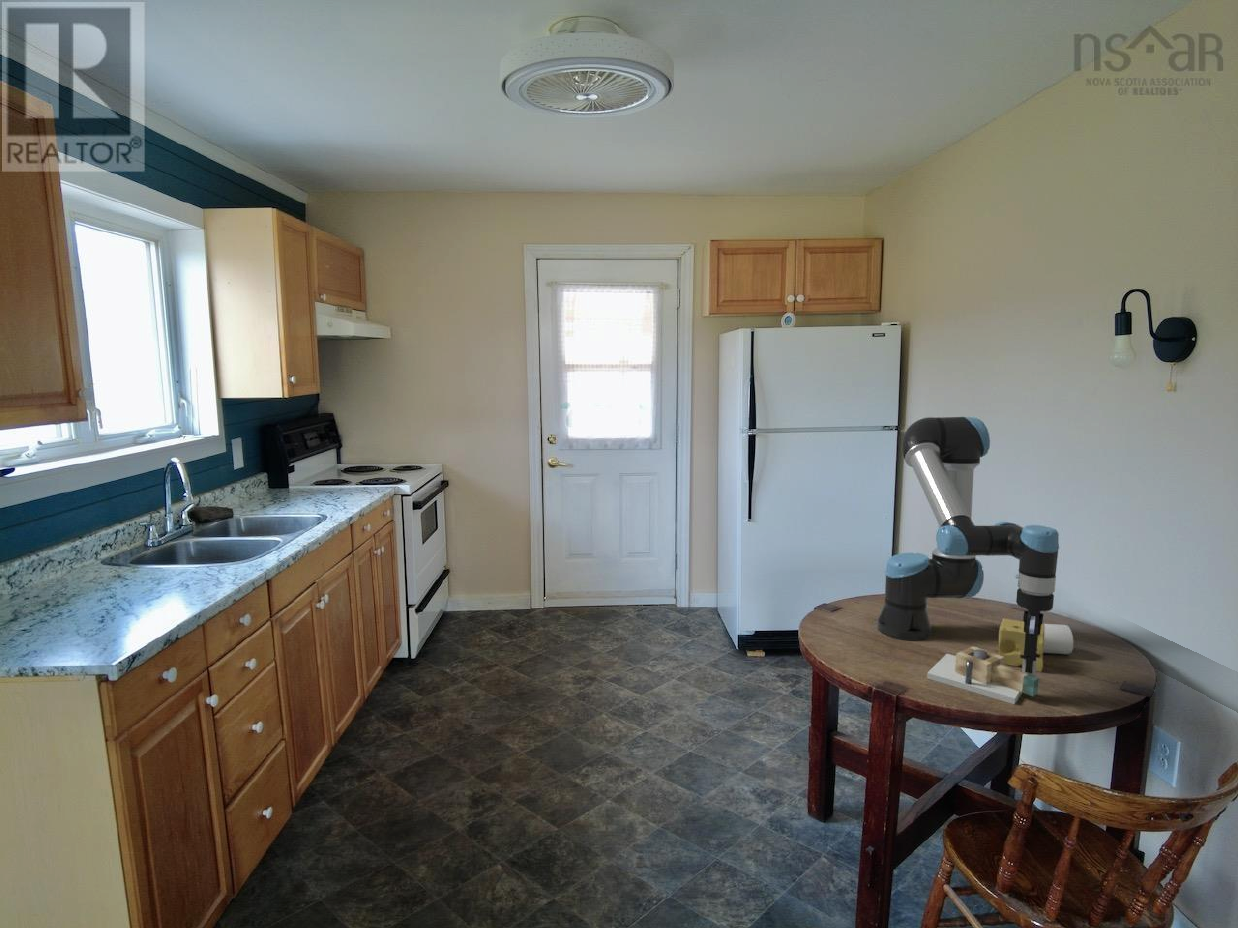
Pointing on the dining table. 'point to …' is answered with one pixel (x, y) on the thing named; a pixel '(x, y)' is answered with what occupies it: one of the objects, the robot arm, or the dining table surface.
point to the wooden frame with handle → (996, 671)
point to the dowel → (969, 672)
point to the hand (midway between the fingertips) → (1027, 682)
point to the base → (947, 675)
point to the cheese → (1017, 643)
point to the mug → (1057, 639)
